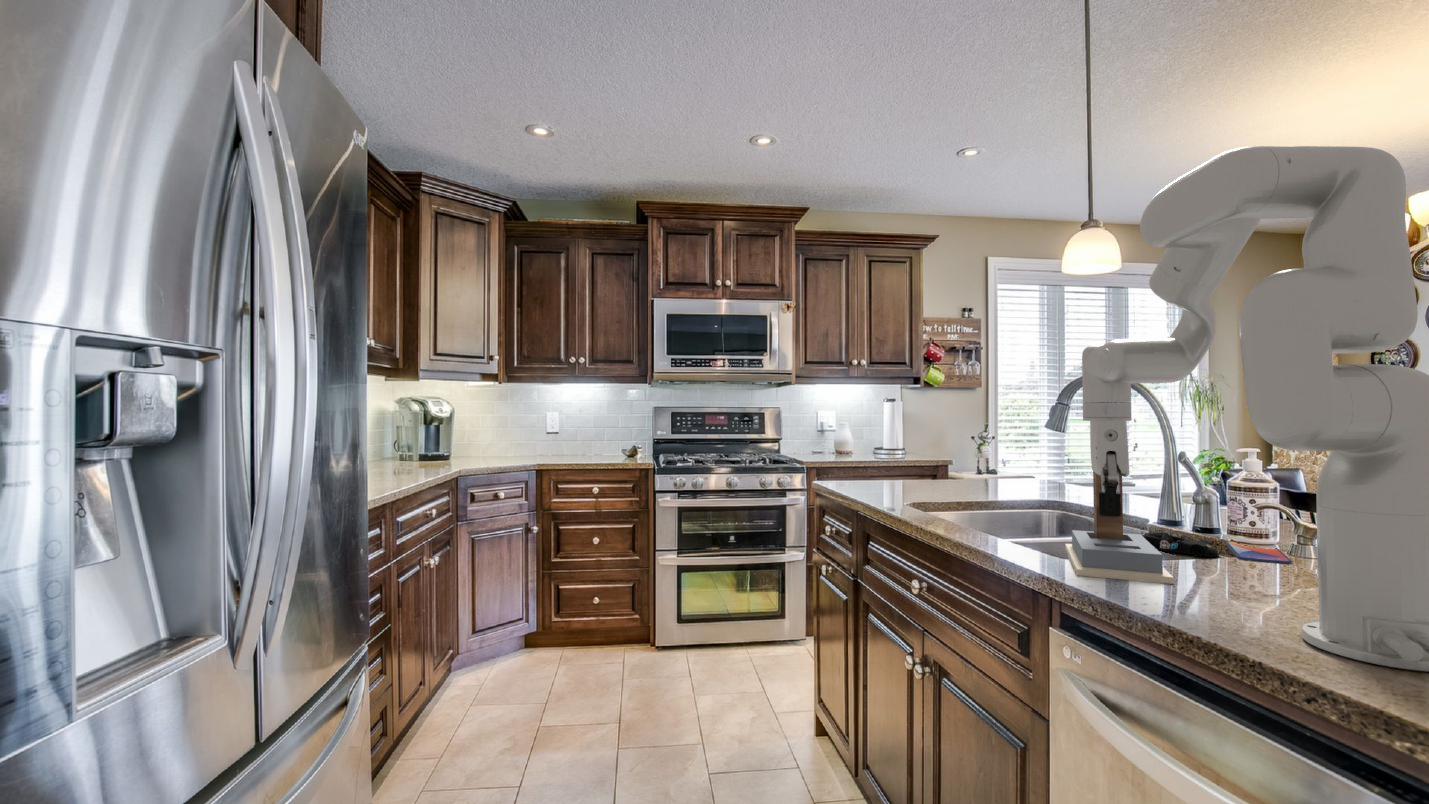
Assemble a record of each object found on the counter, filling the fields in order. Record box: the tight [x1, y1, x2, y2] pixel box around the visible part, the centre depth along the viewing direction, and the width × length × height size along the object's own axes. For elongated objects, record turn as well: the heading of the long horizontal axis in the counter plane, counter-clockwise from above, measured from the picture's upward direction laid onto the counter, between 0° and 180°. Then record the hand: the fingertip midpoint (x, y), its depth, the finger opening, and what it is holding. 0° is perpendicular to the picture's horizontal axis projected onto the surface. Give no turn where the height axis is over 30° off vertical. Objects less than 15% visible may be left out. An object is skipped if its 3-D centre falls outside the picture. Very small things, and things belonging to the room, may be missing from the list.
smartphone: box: [1225, 540, 1292, 565], centre depth 118 cm, size 7×15×1 cm, turn 149°
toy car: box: [1141, 532, 1220, 558], centre depth 120 cm, size 8×12×4 cm
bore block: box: [1064, 529, 1175, 585], centre depth 110 cm, size 22×13×4 cm, turn 155°
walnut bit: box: [1092, 469, 1124, 540], centre depth 115 cm, size 4×4×12 cm
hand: (1108, 512), depth 115 cm, fingers closed on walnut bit, 4 cm apart
